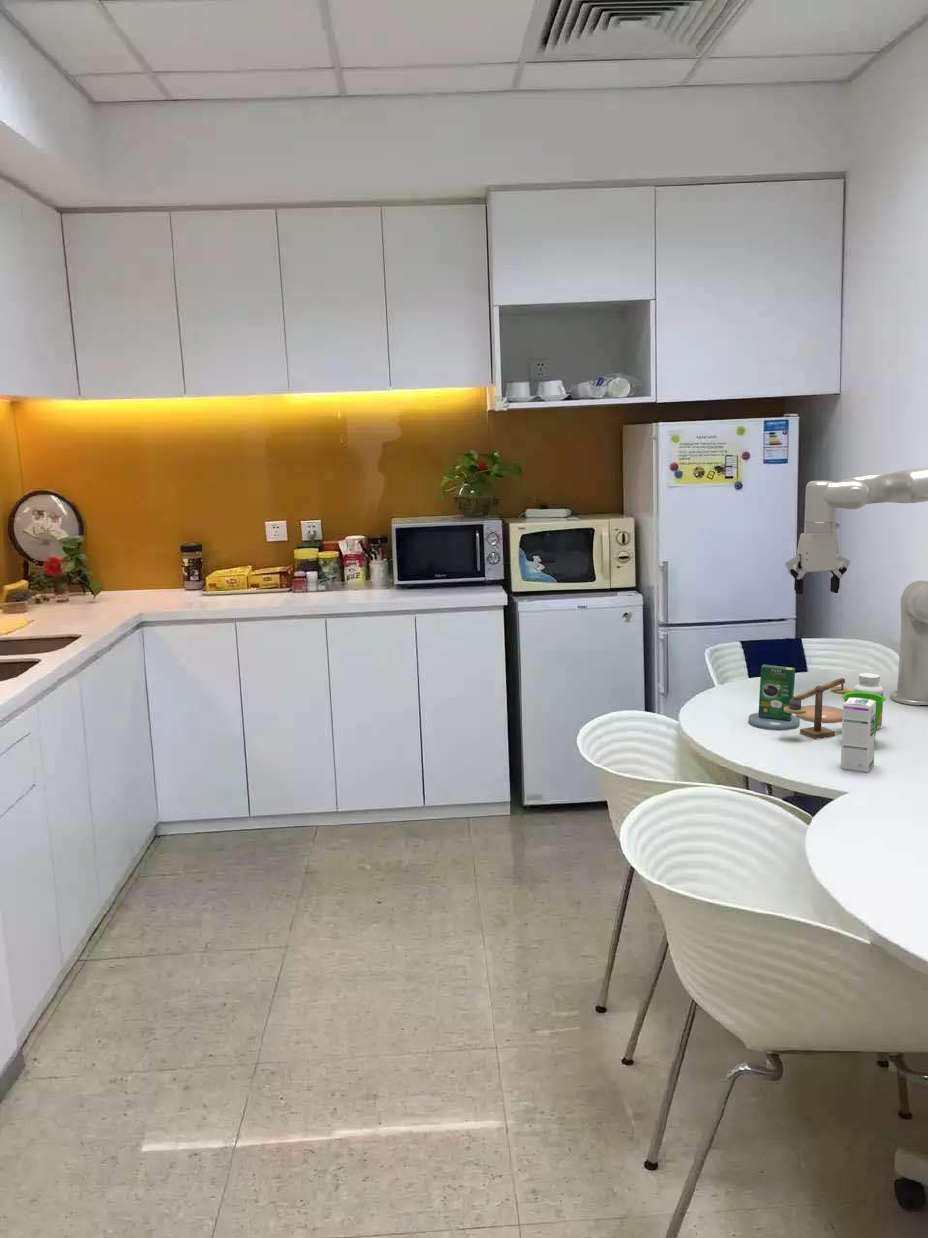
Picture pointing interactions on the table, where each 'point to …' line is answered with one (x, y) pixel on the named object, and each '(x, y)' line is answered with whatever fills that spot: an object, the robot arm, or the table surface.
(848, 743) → the syrup box
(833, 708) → the dish
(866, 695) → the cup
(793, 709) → the balance
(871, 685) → the supplement bottle
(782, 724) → the dish
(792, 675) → the coffee box
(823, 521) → the robot arm
